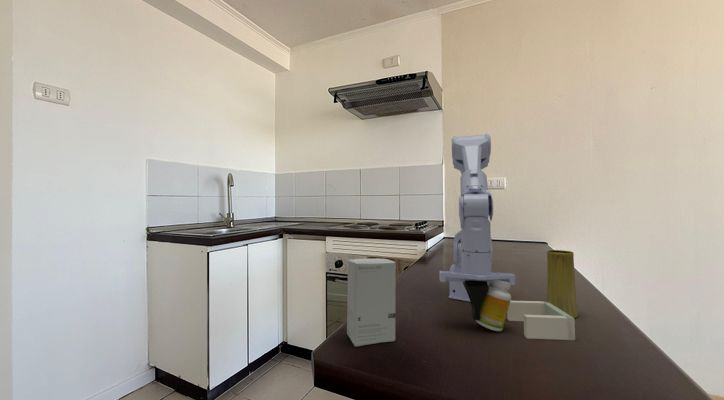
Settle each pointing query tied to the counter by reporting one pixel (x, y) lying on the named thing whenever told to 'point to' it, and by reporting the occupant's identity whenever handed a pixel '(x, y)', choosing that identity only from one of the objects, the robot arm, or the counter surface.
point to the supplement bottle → (495, 305)
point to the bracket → (542, 320)
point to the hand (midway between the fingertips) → (476, 318)
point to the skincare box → (371, 301)
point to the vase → (561, 281)
